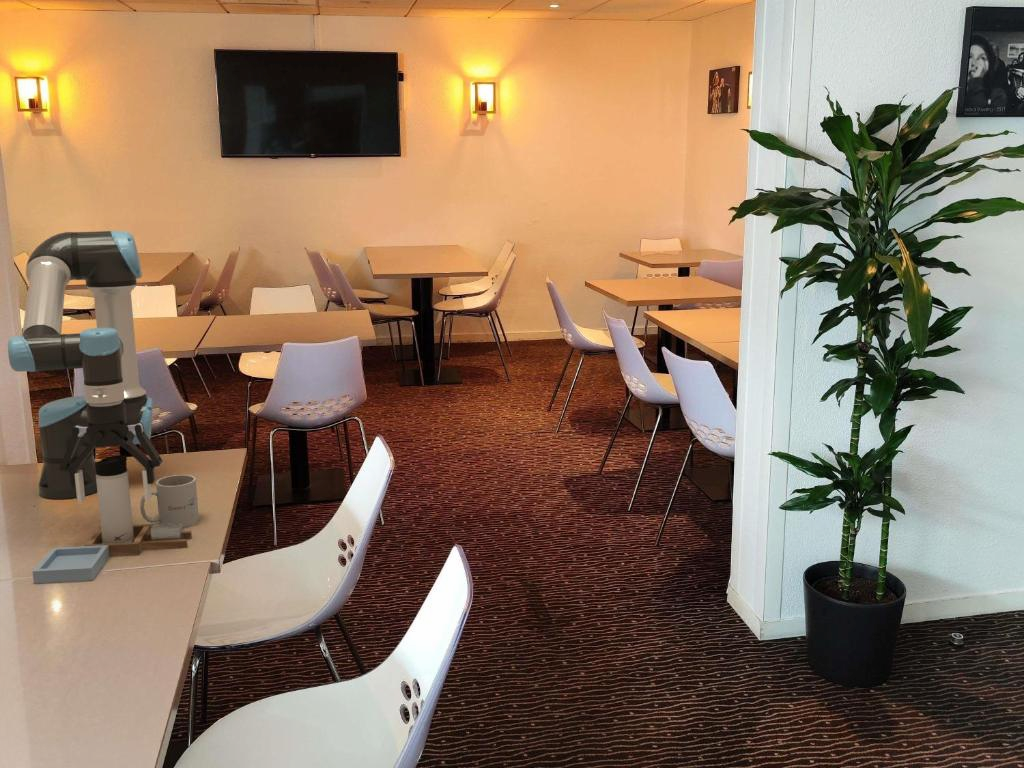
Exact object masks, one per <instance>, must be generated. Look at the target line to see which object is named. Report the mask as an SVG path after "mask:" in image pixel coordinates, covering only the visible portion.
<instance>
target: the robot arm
mask: <svg viewBox="0 0 1024 768" xmlns="http://www.w3.org/2000/svg"><path fill="white" fill-rule="evenodd" d="M25 267H26V268H25V276H26V279H27V281H28V288H27V296H26V303H25V312H24V318H23V325H22V326H23V327H22V333H21V334H20V335H18V336H13V337H10V338H9V340H8V342H7V355H8V360H9V361H8V362H9V365H10V368H11V369H12V370H13V371H15V372H31V373H34V372H45V371H47V372H48V371H56V370H57V371H58V370H59V371H60V370H73V369H82V372H83V374H82V375H83V387H84V388H83V389H84V395H85V396H83V395H82V396H69V397H65V398H61V399H56V400H53V401H49V402H48V403H46V404H44V405H42V406H41V407H40V408H39V409H38V424H37V425H38V428H39V433H40V434H39V435H40V445H41V453H42V459H43V460H42V461H43V462H42V463H43V464H42V469H41V473H40V476H39V481H38V485H37V487H38V494H39V496H41V497H42V498H45V499H50V500H51V499H53V500H64V499H67V500H68V499H72V498H73V499H77V500H76V501H77V504H82V503H83V502H84V501H86V496H88V495H92V494H95V493H98V492H97V483H96V469H95V462H97V461H96V459H95V456H94V449H98V448H109V447H114V448H115V447H121V448H122V449H124V450H125V451H127V452H128V453H129V454H130V455H131V456H132V457H133V458H134V459H135V460H136V461H137V462H138V463H139V464H140V465H141V466H142V467H144V468H143V469H142V473H141V474H142V483H143V484H142V485H143V486H142V487H143V495H144V497H145V501H149V500H150V498H152V495H151V490H152V487H151V484H154V483H155V481H156V480H155V479H156V478H155V477H156V476H155V468H157V467H160V466H161V464H162V463H163V459H162V457H161V455H160V454H159V452H158V450H157V449H156V447H155V446H154V444H153V443H152V442H151V440H150V439H151V438H152V437H151V436H152V422H153V402H154V399H153V398H152V397H147V391H146V390H145V389H144V388H143V387H141V386H140V382H139V381H140V380H139V369H138V359H137V346H136V335H135V325H134V324H135V323H134V313H133V302H132V301H133V300H132V291H133V290H134V289H135V288H136V287H137V285H138V284H137V279H138V280H139V279H141V278H142V277H143V272H142V267H141V262H140V258H139V252H138V249H137V244H136V241H135V238H134V235H132V234H131V233H130V232H129V231H122V230H121V231H119V230H102V231H101V230H100V231H99V230H98V231H65V232H60V233H57V234H54V235H51V236H49V238H48V237H47V239H45V240H43V241H42V242H41V243H40V244H39V245H38V246H37V247H36V248H35V249H34V250H33V252H32V253H31V254H30V256H29V258H28V259H27V263H26V266H25ZM70 281H85V285H86V286H85V287H86V289H87V290H89V291H90V292H91V293H92V294H93V302H94V310H95V319H96V320H95V321H96V322H95V324H96V327H93V328H87V329H83V330H82V331H80V332H78V333H62V327H63V318H64V317H63V316H64V305H65V294H66V293H65V292H66V286H68V284H69V283H70ZM137 445H141V446H142V448H143V449H144V451H145V453H146V454H145V453H144V452H143V451H142V450H141V449H140V448H139V447H138V446H137Z"/></svg>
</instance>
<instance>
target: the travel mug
mask: <svg viewBox="0 0 1024 768" xmlns="http://www.w3.org/2000/svg"><path fill="white" fill-rule="evenodd" d="M127 460H128V457H127V456H126V455H114V456H108V457H105V458H101V459H100V460H99V461H98V460H97V461H96V462H95V469H96V483H97V492H96V493H97V501H98V509H99V510H98V512H99V520H100V521H99V522H100V526H101V532H102V540H103V543H102V544H106V543H126V542H134V540H135V537H133V536H134V534H133V525H134V523H133V514H132V505H131V503H132V502H131V494H130V483H129V474H128V473H129V472H128V466H127V465H128V464H127Z"/></svg>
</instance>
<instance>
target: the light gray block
mask: <svg viewBox="0 0 1024 768" xmlns="http://www.w3.org/2000/svg"><path fill="white" fill-rule="evenodd" d="M183 531H184V529H183V524H182V523H169V524H160V523H154V524H153V525H151V540H152V541H159V540H179V539H184V537H183Z"/></svg>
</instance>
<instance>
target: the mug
mask: <svg viewBox="0 0 1024 768" xmlns="http://www.w3.org/2000/svg"><path fill="white" fill-rule="evenodd" d="M155 487H156V489H151V496H156V498H157V500H156V501H157V509H158V511H157V512H158V515H155V516H154V517H149V516H148V515H147V513H146V511H145V502H146V500H145V497H144V494H143V495H142V497H141V499H140V505H139V506H140V509H139V510H140V515H141V517H142V518H143V519H144V520H146V521H147V522H148V523H156V522H158V524H169V523H182V524H183V528H189V527H191V526H194V525H197V524H198V523H199V521H200V517H199V515H200V514H199V505H198V504H199V503H198V491H197V489H198V488H197V478H196V477H195V476H193V475H189V474H174V475H170V476H169V475H168V476H164V477H161V478H159V479H157V480H155Z"/></svg>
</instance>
